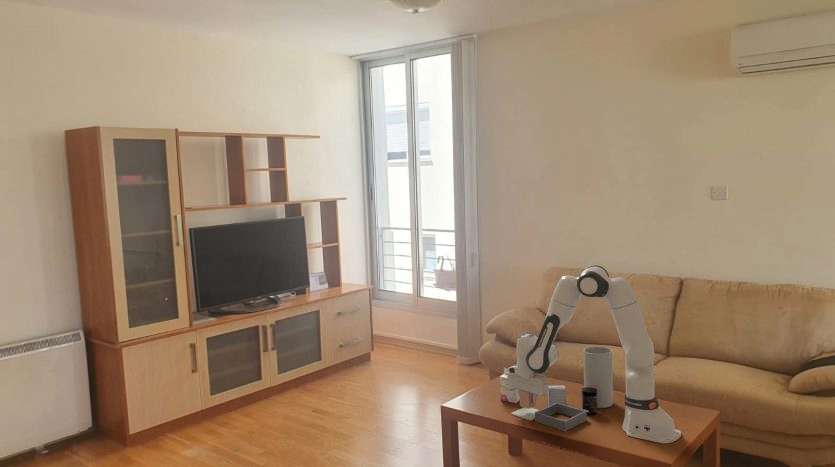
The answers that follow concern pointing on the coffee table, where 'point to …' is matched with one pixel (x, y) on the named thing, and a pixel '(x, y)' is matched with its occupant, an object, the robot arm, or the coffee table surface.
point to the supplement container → (589, 400)
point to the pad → (525, 413)
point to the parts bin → (545, 418)
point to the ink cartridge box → (507, 389)
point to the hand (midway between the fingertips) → (527, 400)
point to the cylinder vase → (599, 374)
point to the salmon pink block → (526, 399)
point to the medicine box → (556, 395)
